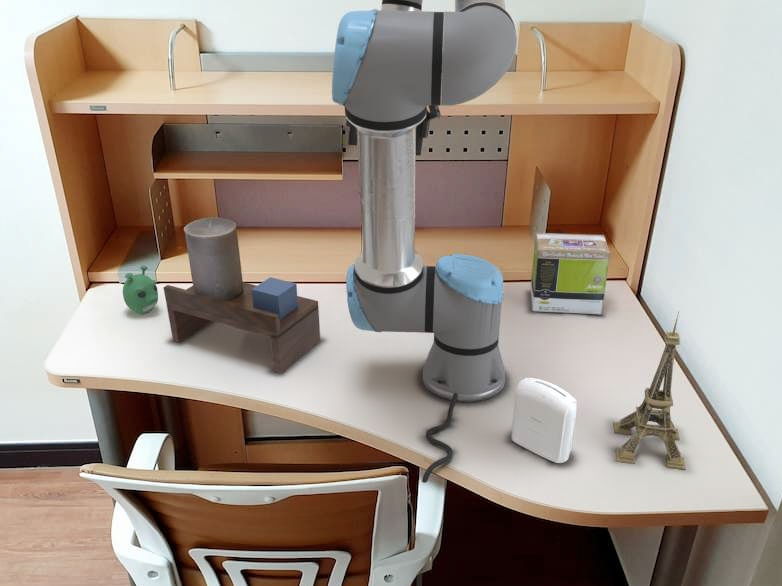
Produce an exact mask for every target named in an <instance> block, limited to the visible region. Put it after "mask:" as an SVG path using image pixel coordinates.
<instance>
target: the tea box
mask: <svg viewBox="0 0 782 586" xmlns="http://www.w3.org/2000/svg"><path fill="white" fill-rule="evenodd" d="M605 236H606V235H604V234H585V233H584V234H582V233H581V234H579V233H556V232H555V233H553V232H551V233H550V232H544V233H543V232H536V233H535V238H534V247H533V258H532V269H531V276H530V277H531V279H530V298H531V309H532V312H546V313H566V314H584V315H585V314H587V315H589V314H590V315H591V314H592V315H602V313H603V308H604V307H603V306H604V299H605V292H606V286H607V279H608V272H609V267H610V266H609V265H610V257H611V251H610V249H609V246H608V242H607V240H606V237H605Z"/></svg>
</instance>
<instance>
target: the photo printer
mask: <svg viewBox="0 0 782 586" xmlns="http://www.w3.org/2000/svg"><path fill="white" fill-rule="evenodd" d="M577 410H578V401H577V400H576V398H574V397H573V396H572V395H571V394H570V393H569V392H567V391H566V390H564V389H563V388H561V387H560V386H558V385H556V384H553V383H551V382H549V381H546V380H543V379H539V378H535V377H524V378H523V379H522V380H519V383H518V385H517V386H516V389H515V394H514V405H513V415H512V426H511V441H512V442H514V443H515V444H517V445H519V446H521V447H522V448H524V449H526V450H528V451H530V452H532V453H534V454H536V455H538V456H540V457H542V458H544V459H546V460H548V461H550V462H553V463H556V464H563V463H566V462H567V461H568V460H569V459H570V454H571V451H572V444H573V437H574V430H575V424H576V418H577Z"/></svg>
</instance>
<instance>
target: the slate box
mask: <svg viewBox="0 0 782 586" xmlns="http://www.w3.org/2000/svg"><path fill="white" fill-rule="evenodd" d="M297 285H298V284H297V283H296V282H291V281H287V280H283V279H279V278H276V277H272V276H270V277H268V278H266V279H265V280H264V281H262V282H260V283H259V284H258V285H257V284H256V287H254V288H253V289H252V298H253V308H256V309H260V310H264V311H267V312H271V313H275V314H278V315H279V319H280V320H281V319H282V318H284V317H285V316H287V315H288V314H289V313H291V312H292V311H293V310H295V309H296V308H297V307H298V298H297V296H298V286H297Z"/></svg>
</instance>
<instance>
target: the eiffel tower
mask: <svg viewBox="0 0 782 586" xmlns="http://www.w3.org/2000/svg"><path fill="white" fill-rule="evenodd" d="M679 314H680V310H678V311H677V315H676V319H675V323H674V326H673V330H672V332H671V331H666V334H665V335H664V336H663V339H664V343H665V346H664V349H663V352H662V355H661V358H660V360H659V363H658V366H657V368H656V371H655V372H654V373H655V374H654V376H653V379H652V381H651V384H650V386H649V387H646V388H645V389H644V398H643V401H642V403H641V404H640V405H639V406H635V409H636V411H633V412H632V413H630V414H628V415H626V416H624V417H623V418H621V419H620V420H619V421H613V433H614V434H622V435H630V436H631V435H632V429H633V428H635V434H633V435H632V436H631V437H630V438H629V439H628V440H627V441H626V442H625V443H623V444H622V445H621V446H620V448H618V449H615V457H616V458H615V459H616V462H617V463H625V464H633V465H634V464H635V463H636V461H635V460H636V456H635V454H636V452H637V449H638V447H639V444H640V442H641V440H642V439H643V438H645V437H648V436H649V437H650V436H656V437H658V438H660V439H661V440H662V441H663V442H664V445H665V449H666V452H667V453H666V454H665V463H666V468H668V469H676V470H684V471H685V470H686V469H687V468H686V462H685V457H684V456H683V457H682V453H681V451H680V450H679V448H678V446H677V444H676V442H675V441H680V434H679V429H678V428H676V427H675V425H674V422H673V421H672V418H671V417H672V416H671V407H674V399H673V396H672V383H673V371H674V362H675V354H676V347H677V346H680V345H681V341H680V340H681V337H680V334H679V332H676V329H677V323H678V317H679ZM662 384H663V386H662ZM661 386H662V389H661ZM648 422H650V423H651V422H652V423H656V424H649V423H648ZM657 424H658V425H657Z"/></svg>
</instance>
